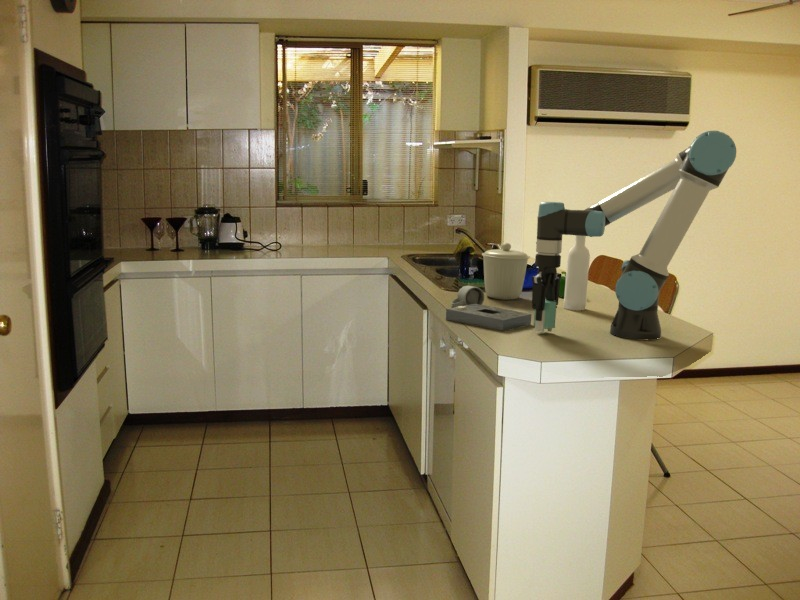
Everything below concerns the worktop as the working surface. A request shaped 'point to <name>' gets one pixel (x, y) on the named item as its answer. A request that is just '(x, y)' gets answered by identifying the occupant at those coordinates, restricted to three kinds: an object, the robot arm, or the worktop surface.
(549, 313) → the plug
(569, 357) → the worktop surface
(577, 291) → the bottle
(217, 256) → the worktop surface
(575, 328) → the worktop surface
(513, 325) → the socket
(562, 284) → the bell pepper
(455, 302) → the ceramic mug
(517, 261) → the canister
